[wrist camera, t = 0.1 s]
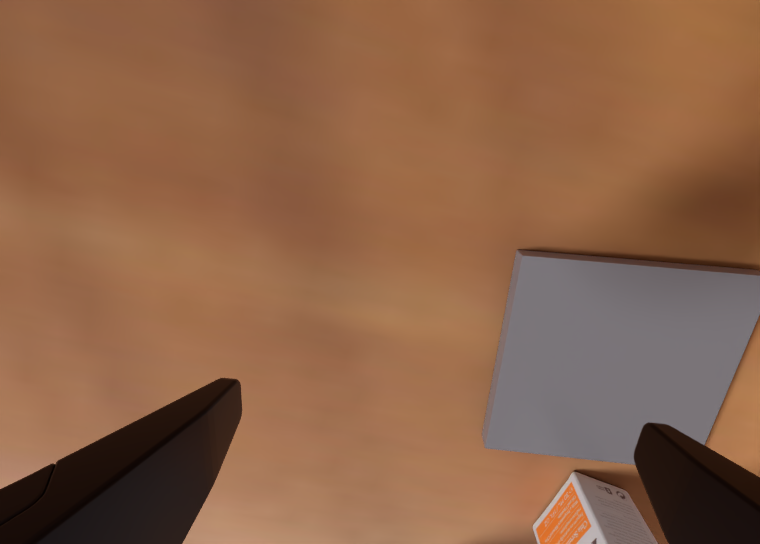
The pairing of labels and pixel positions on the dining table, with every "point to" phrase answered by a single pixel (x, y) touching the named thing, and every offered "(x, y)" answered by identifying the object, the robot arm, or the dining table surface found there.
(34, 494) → the robot arm
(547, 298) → the slate tile
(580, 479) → the skincare box
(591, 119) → the dining table surface
